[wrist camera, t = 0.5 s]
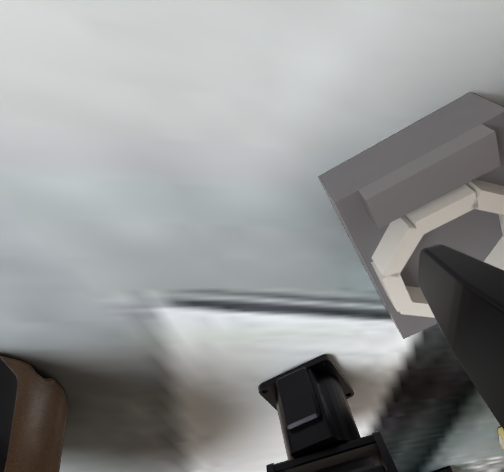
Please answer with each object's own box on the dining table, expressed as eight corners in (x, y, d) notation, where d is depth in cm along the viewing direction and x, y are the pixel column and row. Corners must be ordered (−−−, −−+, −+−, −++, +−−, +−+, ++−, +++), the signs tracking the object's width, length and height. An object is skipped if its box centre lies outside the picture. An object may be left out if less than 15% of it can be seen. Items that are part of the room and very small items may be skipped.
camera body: (502, 252, 28) (549, 296, 24) (385, 307, 30) (414, 356, 26) (470, 91, 21) (531, 119, 17) (318, 176, 22) (344, 218, 19)
